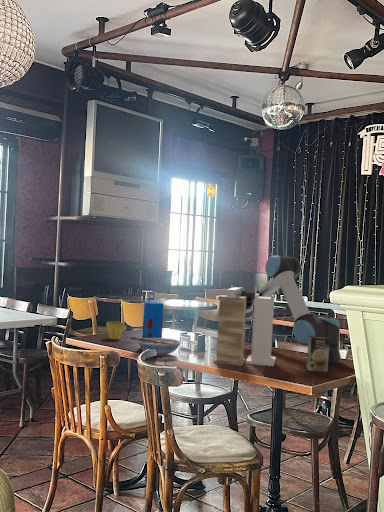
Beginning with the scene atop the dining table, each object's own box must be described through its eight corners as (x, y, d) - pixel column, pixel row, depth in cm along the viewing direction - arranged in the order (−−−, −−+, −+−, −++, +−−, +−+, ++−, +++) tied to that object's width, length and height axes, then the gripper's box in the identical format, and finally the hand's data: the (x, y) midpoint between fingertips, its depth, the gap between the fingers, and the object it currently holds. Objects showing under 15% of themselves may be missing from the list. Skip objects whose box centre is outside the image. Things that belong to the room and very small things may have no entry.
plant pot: (102, 338, 339) (103, 322, 339) (110, 336, 349) (111, 321, 349) (118, 340, 336) (119, 324, 336) (125, 338, 346) (126, 322, 346)
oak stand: (218, 358, 293) (221, 295, 294) (244, 361, 291) (248, 296, 291) (213, 363, 280) (217, 296, 280) (242, 365, 277) (245, 298, 277)
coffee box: (309, 371, 274) (311, 337, 274) (306, 368, 280) (307, 335, 280) (328, 371, 274) (329, 338, 274) (324, 369, 281) (326, 336, 281)
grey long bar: (233, 294, 302) (234, 287, 302) (241, 295, 302) (241, 287, 302) (226, 297, 275) (227, 289, 275) (234, 298, 274) (235, 289, 274)
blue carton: (158, 349, 311) (160, 304, 311) (139, 348, 313) (141, 302, 313) (163, 347, 321) (165, 303, 322) (144, 345, 324) (147, 301, 324)
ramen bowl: (190, 355, 298) (190, 340, 298) (166, 361, 278) (167, 344, 278) (150, 349, 311) (151, 334, 311) (125, 354, 291) (126, 338, 291)
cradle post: (249, 357, 303) (253, 292, 303) (275, 359, 300) (279, 294, 301) (245, 363, 284) (249, 294, 284) (273, 366, 281) (277, 296, 281)
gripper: (266, 311, 330) (265, 295, 312) (224, 308, 335) (220, 292, 317) (267, 300, 334) (266, 283, 316) (226, 296, 339) (222, 280, 321)
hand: (243, 287), depth 316 cm, fingers open, 13 cm apart
